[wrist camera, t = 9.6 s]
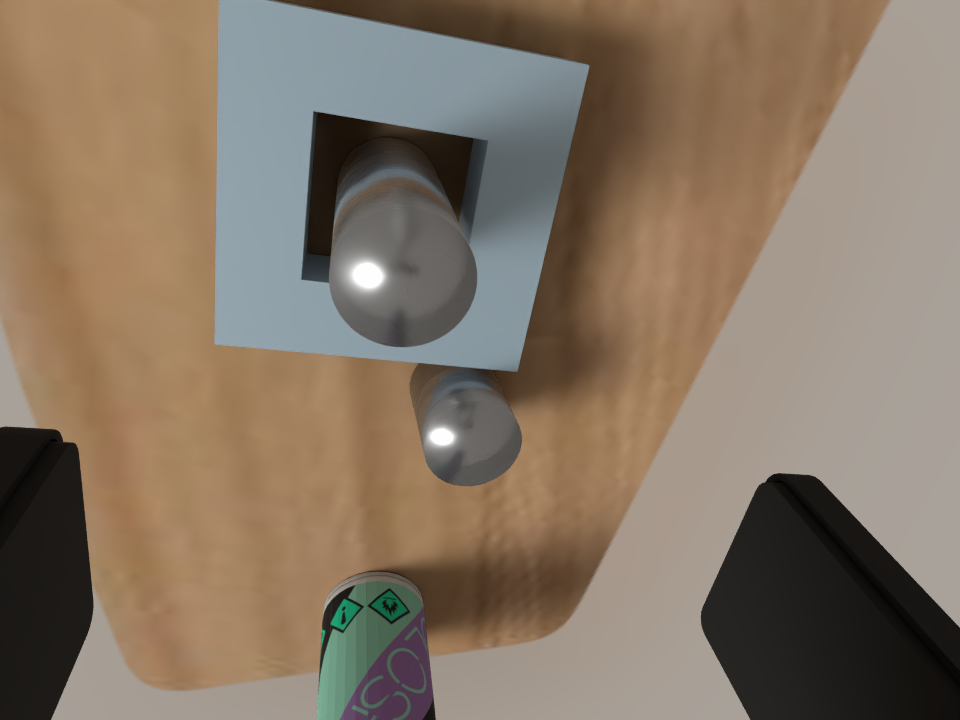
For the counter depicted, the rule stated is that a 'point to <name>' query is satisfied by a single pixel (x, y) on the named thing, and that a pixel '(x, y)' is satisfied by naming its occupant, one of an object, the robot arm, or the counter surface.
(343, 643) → the spray can
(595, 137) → the counter surface
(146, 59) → the counter surface
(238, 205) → the collar block
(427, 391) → the short pin
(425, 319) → the long pin
